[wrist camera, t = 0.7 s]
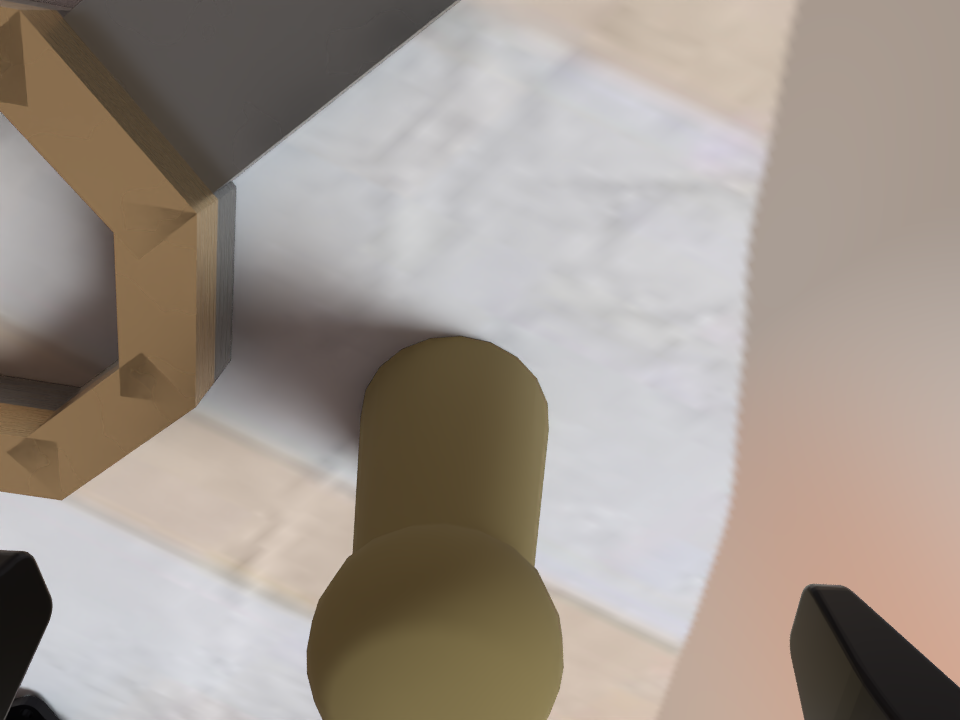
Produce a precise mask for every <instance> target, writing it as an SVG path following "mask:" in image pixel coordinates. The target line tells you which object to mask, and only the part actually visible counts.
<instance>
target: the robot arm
mask: <svg viewBox="0 0 960 720" xmlns="http://www.w3.org/2000/svg"><path fill="white" fill-rule="evenodd" d="M51 613H52V598H51V595H50V593H49V591H48V588H47V586H46V584H45V581H44V579H43V577H42V574H41V572H40V570H39V567H38V565H37V563H36V561H35V559H34V557H33V556H32V555H31V554H29V553H28V552H25V551H7V550H0V720H59V719H58V718H57V717H56V716H55V714H54V713H53V712H52V711H51V710H50V709H49V708H48V706H47V705H46V704H45V703H44V702H43V701H42V700H41V699H39V698H37V697H34V696H25V697H21V698H17V699H14V698H15V696H16V694H17V692H18V690H19V687H20V685H21V683H22V681H23V678H24V676H25V674H26V672H27V670H28V667H29V665H30V663H31V661H32V659H33V656H34V654H35V652H36V650H37V647H38V645H39V643H40V641H41V639H42V636H43V634H44V632H45V630H46V627H47V625H48V623H49V620H50V617H51ZM790 651H791V652H790V653H791V659H792V663H793V668H794V673H795V677H796V682H797V686H798V691H799V696H800V701H801V705H802V711H803V715H804V720H960V687H958V686H957V685H956V684H955V683H954V682H953V681H952V680H951V679H950V678H948V677H947V676H946V675H945V674H944V673H943V672H942V671H941V670H939V669H938V668H937V667H936V666H935V665H934V664H933V663H932V662H930V661H929V660H928V659H927V658H926V657H925V656H924V655H923V654H922V653H920V652H919V651H918V650H917V649H916V648H915V647H914V646H913V645H912V644H910V643H909V642H908V641H907V640H906V639H905V638H904V637H903V636H902V635H901V634H899V633H898V632H897V631H896V630H895V629H894V628H893V627H892V626H891V625H889V624H888V623H887V622H886V621H885V620H884V619H883V618H882V617H880V616H879V615H878V614H877V613H876V612H875V611H874V610H873V609H872V608H870V607H869V606H868V605H867V604H866V603H865V602H864V601H863V600H862V599H860V598H859V597H858V596H857V595H856V594H855V593H853V591H851V590H850V589H848V588H847V587H844V586H841V585H824V584H810V585H808V586H806V587H805V588H804V590H803V592H802V595H801V598H800V602H799V605H798V609H797V613H796V616H795V619H794V623H793V627H792V630H791V634H790Z"/></svg>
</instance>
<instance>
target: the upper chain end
mask: <svg viewBox="0 0 960 720" xmlns="http://www.w3.org/2000/svg"><path fill="white" fill-rule="evenodd" d="M0 111H1V112H2V113H3V114H4V116H5V117H6V118H7V119H8V120H9V121H10V122H11V123H12V124H13V125H14V126H15V127H16V128H17V130H18V131H19V132H20V133H21V134H22V135H23V136H24V137H25V138H26V139H27V140H28V141H29V142H30V143H31V145H32V146H33V147H34V148H35V149H36V150H37V151H38V152H39V153H40V154H41V155H42V156H43V157H44V159H45V160H46V161H47V162H48V163H49V164H50V165H51V166H52V167H53V168H54V169H55V170H56V171H57V172H58V174H59V175H60V176H61V177H62V178H63V179H64V180H65V181H66V182H67V183H68V184H69V185H70V186H71V188H72V189H73V190H74V191H75V192H76V193H77V194H78V195H79V196H80V197H81V198H82V199H83V200H84V201H85V203H86V204H87V205H88V206H89V207H90V208H91V209H92V210H93V211H94V212H95V213H96V214H97V215H98V217H99V218H100V219H101V220H102V221H103V222H104V223H105V224H106V225H107V226H108V227H109V228H110V229H111V230H112V232H113V233H114V255H115V279H116V303H117V327H118V351H119V364H118V365H117V366H115V367H114V368H113V369H111V370H110V371H108V372H107V373H106V374H104V375H103V376H102V377H100V378H99V379H98V380H96V381H95V382H94V383H92V384H91V385H90V386H88V387H87V388H86V389H84V390H83V391H82V392H80V393H79V394H78V395H76V396H75V397H73V398H72V399H71V400H69V401H68V402H67V403H65V404H64V405H63V406H61V407H60V408H59V409H57V410H56V411H52V410H45V409H38V408H32V407H25V406H19V405H12V404H6V403H0V491H1V492H8V493H15V494H22V495H29V496H36V497H43V498H50V499H57V500H63V499H64V498H66V497H67V496H69V495H70V494H71V493H73V492H74V491H76V490H77V489H79V488H80V487H81V486H83V485H84V484H86V483H87V482H89V481H90V480H92V479H93V478H94V477H96V476H97V475H99V474H100V473H102V472H103V471H104V470H106V469H107V468H109V467H110V466H112V465H113V464H115V463H116V462H117V461H119V460H120V459H122V458H123V457H125V456H126V455H128V454H129V453H130V452H132V451H133V450H135V449H136V448H138V447H139V446H140V445H142V444H143V443H145V442H146V441H148V440H149V439H151V438H152V437H153V436H155V435H156V434H158V433H159V432H161V431H162V430H163V429H165V428H166V427H168V426H169V425H171V424H172V423H174V422H175V421H176V420H178V419H179V418H181V417H182V416H184V415H185V414H187V413H188V412H189V411H191V410H192V409H194V408H195V407H196V406H197V405H198V403H199V402H200V401H201V399H202V398H203V397H204V395H205V394H206V393H207V391H208V390H209V389H210V387H211V386H212V385H213V383H214V369H215V321H216V273H217V225H218V199H217V198H216V197H215V195H214V194H213V193H212V192H211V191H210V190H209V188H208V187H207V186H206V185H205V184H204V183H203V181H202V180H201V179H200V178H199V177H198V175H197V174H196V173H195V172H194V171H193V170H192V168H191V167H190V166H189V165H188V164H187V163H186V161H185V160H184V159H183V158H182V157H181V156H180V154H179V153H178V152H177V151H176V150H175V149H174V147H173V146H172V145H171V144H170V143H169V141H168V140H167V139H166V138H165V137H164V136H163V134H162V133H161V132H160V131H159V130H158V129H157V127H156V126H155V125H154V124H153V123H152V122H151V120H150V119H149V118H148V117H147V116H146V115H145V113H144V112H143V111H142V110H141V109H140V107H139V106H138V105H137V104H136V103H135V102H134V100H133V99H132V98H131V97H130V96H129V95H128V93H127V92H126V91H125V90H124V89H123V88H122V86H121V85H120V84H119V83H118V82H117V81H116V79H115V78H114V77H113V76H112V75H111V73H110V72H109V71H108V70H107V69H106V68H105V66H104V65H103V64H102V63H101V62H100V61H99V59H98V58H97V57H96V56H95V55H94V54H93V52H92V51H91V50H90V49H89V48H88V47H87V45H86V44H85V43H84V42H83V41H82V40H81V38H80V37H79V36H78V35H77V34H76V32H75V31H74V30H73V29H72V28H71V27H70V25H69V24H68V23H67V22H66V21H65V20H64V18H63V17H62V16H61V15H60V14H59V13H58V11H57V10H52V9H46V8H41V7H36V6H30V5H25V4H20V3H14V2H9V1H4V0H0Z"/></svg>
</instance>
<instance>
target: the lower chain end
mask: <svg viewBox="0 0 960 720" xmlns="http://www.w3.org/2000/svg"><path fill="white" fill-rule="evenodd" d="M4 1H9V2H14V3H20V4H25V5H30V6H36V7H41V8H46V9H52V10H57V11H58V13H59V14H60V15H61V16H62V17H63V18H64V20H65V21H66V22H67V23H68V24H69V25H70V27H71V28H72V29H73V30H74V31H75V32H76V34H77V35H78V36H79V37H80V38H81V40H82V41H83V42H84V43H85V44H86V45H87V47H88V48H89V49H90V50H91V51H92V52H93V54H94V55H95V56H96V57H97V58H98V59H99V61H100V62H101V63H102V64H103V65H104V66H105V68H106V69H107V70H108V71H109V72H110V73H111V75H112V76H113V77H114V78H115V79H116V81H117V82H118V83H119V84H120V85H121V86H122V88H123V89H124V90H125V91H126V92H127V93H128V95H129V96H130V97H131V98H132V99H133V100H134V102H135V103H136V104H137V105H138V106H139V107H140V109H141V110H142V111H143V112H144V113H145V115H146V116H147V117H148V118H149V119H150V120H151V122H152V123H153V124H154V125H155V126H156V127H157V129H158V130H159V131H160V132H161V133H162V134H163V136H164V137H165V138H166V139H167V140H168V141H169V143H170V144H171V145H172V146H173V147H174V149H175V150H176V151H177V152H178V153H179V154H180V156H181V157H182V158H183V159H184V160H185V161H186V163H187V164H188V165H189V166H190V167H191V168H192V170H193V171H194V172H195V173H196V174H197V175H198V177H199V178H200V179H201V180H202V181H203V183H204V184H205V185H206V186H207V187H208V188H209V190H210V191H211V192H212V193H213V194H214V195H215V197H216V198H217V199H218V225H217V273H216V321H215V369H214V382H215V381H216V379H217V378H218V377H219V375H220V374H221V373H222V371H223V370H224V369H225V367H226V366H227V365H228V363H229V362H230V361H231V338H232V306H233V274H234V242H235V210H236V186H235V185H234V184H233V183H232V182H231V181H233V180H234V179H235V178H237V177H238V176H239V175H240V174H242V173H243V172H244V171H245V170H247V169H248V168H249V167H250V166H252V165H253V164H254V163H256V162H257V161H258V160H259V159H261V158H262V157H263V156H264V155H266V154H267V153H268V152H269V151H271V150H272V149H273V148H275V147H276V146H277V145H278V144H280V143H281V142H282V141H283V140H285V139H286V138H287V137H288V136H290V135H291V134H292V133H294V132H295V131H296V130H297V129H299V128H300V127H301V126H302V125H304V124H305V123H306V122H307V121H309V120H310V119H311V118H313V117H314V116H315V115H316V114H318V113H319V112H320V111H321V110H323V109H324V108H325V107H326V106H328V105H329V104H330V103H331V102H333V101H334V100H335V99H337V98H338V97H339V96H340V95H342V94H343V93H344V92H345V91H347V90H348V89H349V88H350V87H352V86H353V85H354V84H356V83H357V82H358V81H359V80H361V79H362V78H363V77H364V76H366V75H367V74H368V73H369V72H371V71H372V70H373V69H375V68H376V67H377V66H378V65H380V64H381V63H382V62H383V61H385V60H386V59H387V58H388V57H390V56H391V55H392V54H394V53H395V52H396V51H397V50H399V49H400V48H401V47H402V46H404V45H405V44H406V43H407V42H409V41H410V40H411V39H413V38H414V37H415V36H416V35H418V34H419V33H420V32H421V31H423V30H424V29H425V28H426V27H428V26H429V25H430V24H431V23H433V22H434V21H435V20H437V19H438V18H439V17H440V16H442V15H443V14H444V13H445V12H447V11H448V10H449V9H450V8H452V7H453V6H454V5H456V4H457V3H458V2H459V1H461V0H82V1H80V2H79V3H78V4H77V5H76V6H75V7H74V8H70V7H65V6H59V5H54V4H49V3H43V2H38V1H33V0H4ZM118 364H119V360H117V361H116V362H115V363H113V364H112V365H111V366H109V367H108V368H107V369H105V370H104V371H103V372H101V373H100V374H99V375H97V376H96V377H95V378H93V379H92V380H91V381H89V382H88V383H87V384H85V385H84V386H83V387H81V388H79V387H73V386H66V385H60V384H54V383H47V382H41V381H34V380H28V379H21V378H15V377H8V376H2V375H0V403H6V404H12V405H19V406H25V407H32V408H38V409H45V410H52V411H56V410H57V409H59V408H60V407H61V406H63V405H64V404H65V403H67V402H68V401H69V400H71V399H72V398H73V397H75V396H76V395H78V394H79V393H80V392H82V391H83V390H84V389H86V388H87V387H88V386H90V385H91V384H92V383H94V382H95V381H96V380H98V379H99V378H100V377H102V376H103V375H104V374H106V373H107V372H108V371H110V370H111V369H113V368H114V367H115V366H117V365H118Z"/></svg>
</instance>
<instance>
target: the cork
mask: <svg viewBox="0 0 960 720" xmlns="http://www.w3.org/2000/svg"><path fill="white" fill-rule="evenodd" d="M548 431H549V424H548V403H547V401H546V399H545V396H544V394H543V392H542V389H541V387H540V385H539V382H538V380H537V378H536V377H535V376H534V375H533V374H532V373H531V372H530V371H529V369H528V368H527V367H526V366H525V365H524V364H523V363H522V362H521V361H520V360H519V359H518V358H517V357H516V356H514V355H512V354H510V353H508V352H507V351H505V350H503V349H501V348H500V347H498V346H496V345H494V344H492V343H490V342H485V341H481V340H476V339H472V338H467V337H463V336H456V337H442V338H430V339H427V340H425V341H422V342H419V343H417V344H414V345H412V346H409V347H406V348H404V349H402V350H400V351H399V352H398V353H397V354H395V355H394V356H393V357H392V358H390V359H389V360H388V361H387V362H386V363H384V364H383V365H382V366H381V367H380V368H379V369H378V371H377V372H376V374H375V376H374V377H373V379H372V381H371V382H370V384H369V386H368V387H367V389H366V391H365V396H364V401H363V406H362V412H361V419H360V437H359V454H358V471H357V488H356V505H355V522H354V539H353V554H352V555H351V556H349V557H348V558H347V559H346V561H345V562H344V564H343V565H342V567H341V568H340V570H339V571H338V572H337V574H336V575H335V577H334V578H333V580H332V581H331V583H330V584H329V586H328V587H327V589H326V590H325V592H324V593H323V595H322V596H321V598H320V599H319V601H318V604H317V608H316V611H315V614H314V617H313V620H312V625H311V630H310V636H309V641H308V647H307V675H308V679H309V683H310V687H311V691H312V695H313V699H314V702H315V704H316V706H317V709H318V711H319V713H320V715H321V717H322V720H547V718H548V716H549V714H550V712H551V709H552V707H553V704H554V702H555V699H556V697H557V694H558V692H559V689H560V684H561V678H562V673H563V668H564V666H563V644H562V633H561V625H560V618H559V614H558V612H557V610H556V608H555V606H554V604H553V602H552V600H551V597H550V595H549V593H548V591H547V589H546V587H545V585H544V583H543V581H542V579H541V577H540V575H539V573H538V571H537V569H536V568H535V567H534V565H535V555H536V546H537V536H538V527H539V517H540V508H541V498H542V489H543V479H544V469H545V460H546V450H547V441H548Z"/></svg>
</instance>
